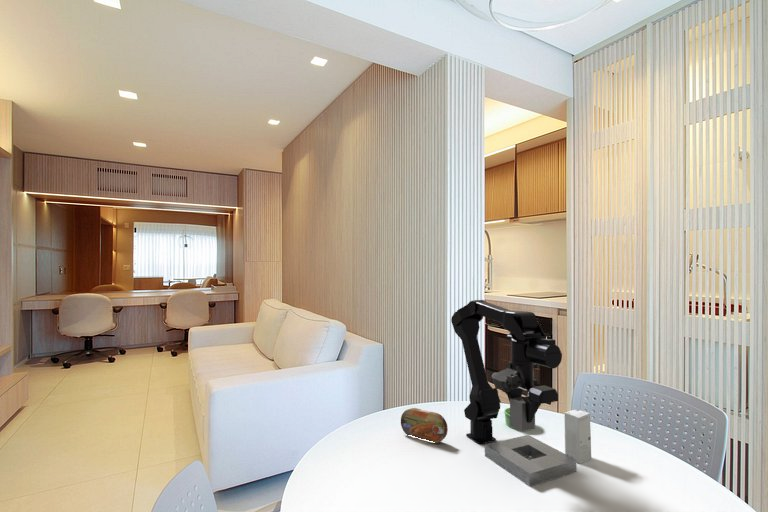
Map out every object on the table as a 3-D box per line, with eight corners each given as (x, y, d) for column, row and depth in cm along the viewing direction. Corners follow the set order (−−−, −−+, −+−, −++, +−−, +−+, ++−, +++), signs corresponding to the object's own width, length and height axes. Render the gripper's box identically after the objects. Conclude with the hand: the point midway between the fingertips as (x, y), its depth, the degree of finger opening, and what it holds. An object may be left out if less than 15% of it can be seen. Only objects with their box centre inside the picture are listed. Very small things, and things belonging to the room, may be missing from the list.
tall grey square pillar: (510, 424, 99) (509, 398, 100) (522, 422, 101) (522, 396, 101) (522, 431, 95) (521, 403, 96) (535, 428, 97) (535, 401, 97)
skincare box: (580, 464, 99) (579, 418, 99) (563, 457, 102) (563, 412, 103) (592, 458, 102) (591, 413, 102) (576, 451, 106) (575, 408, 106)
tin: (399, 434, 116) (400, 406, 116) (405, 430, 118) (405, 403, 119) (444, 447, 107) (444, 417, 108) (448, 443, 110) (449, 414, 110)
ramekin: (498, 421, 126) (498, 408, 127) (521, 419, 129) (520, 406, 129) (515, 432, 118) (515, 418, 118) (539, 429, 121) (538, 415, 121)
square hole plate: (484, 455, 103) (484, 444, 103) (528, 445, 109) (528, 434, 109) (529, 486, 88) (529, 473, 88) (576, 472, 95) (576, 460, 95)
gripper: (475, 354, 104) (475, 410, 104) (524, 371, 87) (525, 438, 87) (506, 351, 109) (507, 405, 108) (559, 366, 92) (560, 431, 91)
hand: (522, 418), depth 98 cm, fingers closed on tall grey square pillar, 4 cm apart
